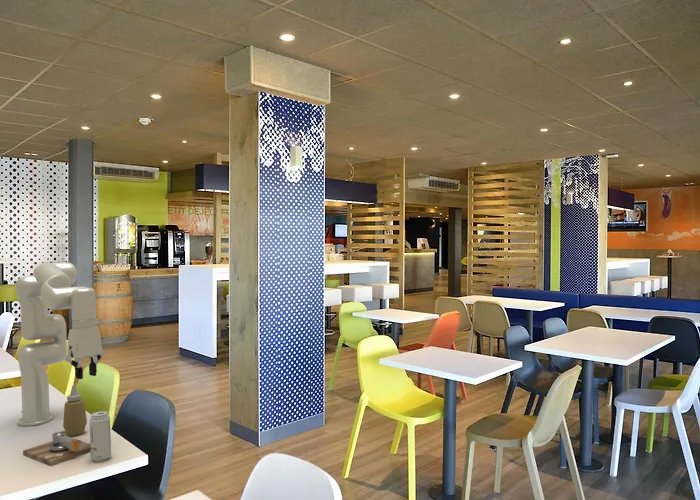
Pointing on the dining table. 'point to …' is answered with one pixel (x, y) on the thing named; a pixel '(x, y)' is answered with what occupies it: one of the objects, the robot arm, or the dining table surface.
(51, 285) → the robot arm
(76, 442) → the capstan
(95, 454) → the energy drink can
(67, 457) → the walnut stand
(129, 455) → the dining table surface
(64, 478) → the dining table surface
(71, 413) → the squeeze bottle
